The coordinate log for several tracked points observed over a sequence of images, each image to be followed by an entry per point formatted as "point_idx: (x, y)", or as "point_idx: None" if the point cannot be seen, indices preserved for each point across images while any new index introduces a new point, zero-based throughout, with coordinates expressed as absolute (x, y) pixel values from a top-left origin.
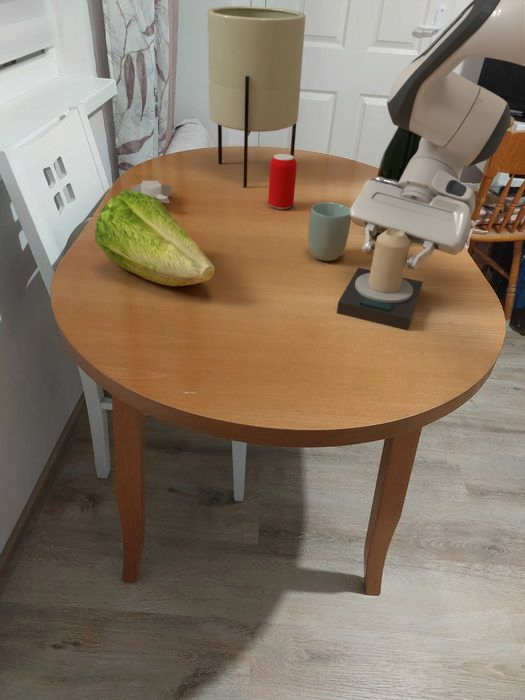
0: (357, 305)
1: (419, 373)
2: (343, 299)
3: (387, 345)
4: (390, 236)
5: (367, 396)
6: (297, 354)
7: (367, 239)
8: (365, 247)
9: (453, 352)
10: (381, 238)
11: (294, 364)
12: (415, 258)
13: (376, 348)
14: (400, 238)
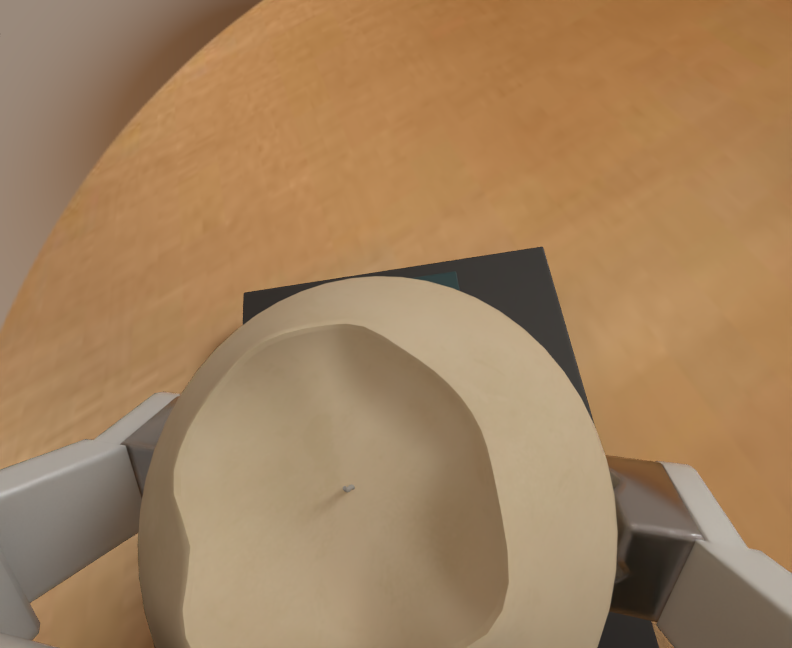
0: (460, 264)
1: (206, 147)
2: (534, 273)
3: (308, 204)
4: (376, 327)
5: (303, 30)
6: (510, 48)
7: (735, 546)
8: (661, 465)
9: (117, 280)
10: (501, 334)
11: (494, 21)
12: (139, 426)
13: (333, 175)
14: (228, 364)
